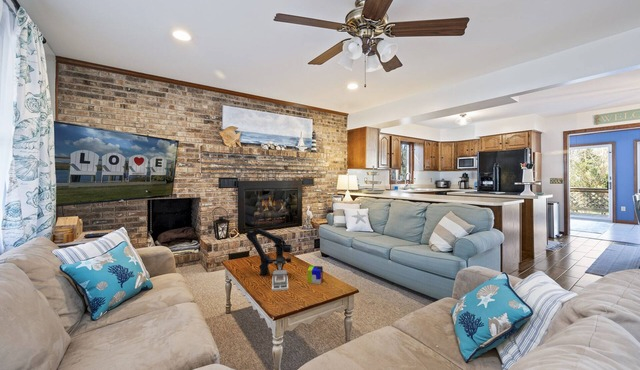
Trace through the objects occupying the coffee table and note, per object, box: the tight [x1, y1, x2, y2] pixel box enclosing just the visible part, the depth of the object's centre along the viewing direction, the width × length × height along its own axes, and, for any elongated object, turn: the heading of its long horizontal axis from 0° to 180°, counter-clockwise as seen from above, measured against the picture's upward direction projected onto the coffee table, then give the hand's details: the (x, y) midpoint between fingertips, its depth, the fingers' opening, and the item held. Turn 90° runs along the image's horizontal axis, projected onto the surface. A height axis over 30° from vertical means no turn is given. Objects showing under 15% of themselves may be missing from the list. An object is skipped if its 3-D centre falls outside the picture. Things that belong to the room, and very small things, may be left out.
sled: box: [276, 264, 284, 280], centre depth 215 cm, size 16×6×8 cm, turn 9°
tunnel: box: [272, 269, 288, 286], centre depth 202 cm, size 7×10×8 cm
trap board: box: [271, 275, 289, 292], centre depth 206 cm, size 24×12×2 cm, turn 9°
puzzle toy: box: [307, 265, 324, 285], centre depth 210 cm, size 10×10×10 cm
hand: (279, 270), depth 222 cm, fingers open, 3 cm apart
